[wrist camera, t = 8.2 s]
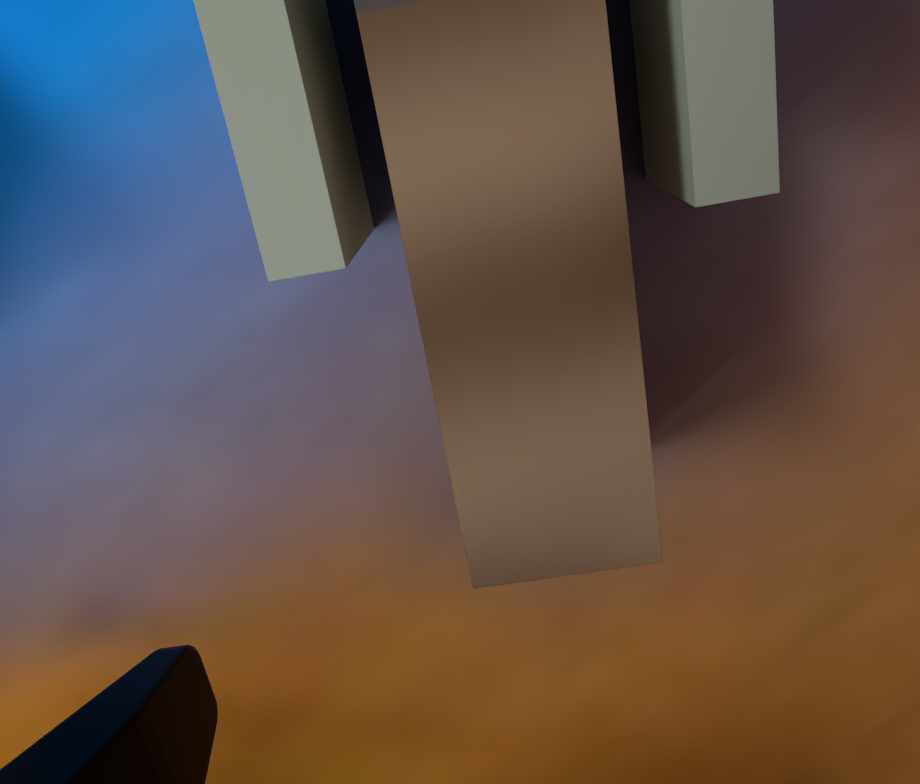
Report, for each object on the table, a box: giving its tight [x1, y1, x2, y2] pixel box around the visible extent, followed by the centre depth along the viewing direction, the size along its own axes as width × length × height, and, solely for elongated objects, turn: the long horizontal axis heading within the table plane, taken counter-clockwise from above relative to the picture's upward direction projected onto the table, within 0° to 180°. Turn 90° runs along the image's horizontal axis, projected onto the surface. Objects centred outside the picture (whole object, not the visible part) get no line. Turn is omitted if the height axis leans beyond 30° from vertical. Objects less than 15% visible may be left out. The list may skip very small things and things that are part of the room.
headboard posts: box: [193, 0, 780, 282], centre depth 14 cm, size 8×10×7 cm
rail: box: [354, 0, 663, 589], centre depth 17 cm, size 12×4×5 cm, turn 10°
